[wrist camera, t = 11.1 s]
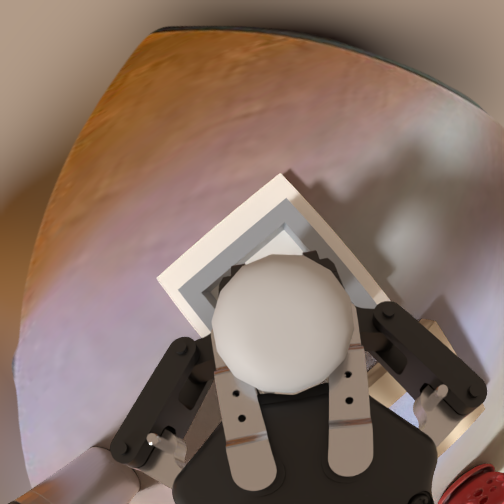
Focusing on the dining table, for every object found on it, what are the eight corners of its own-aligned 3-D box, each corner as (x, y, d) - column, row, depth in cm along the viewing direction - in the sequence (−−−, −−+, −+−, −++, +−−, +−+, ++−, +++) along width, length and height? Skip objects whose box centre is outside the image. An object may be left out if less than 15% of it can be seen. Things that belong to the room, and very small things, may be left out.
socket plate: (273, 412, 25) (271, 431, 21) (161, 278, 27) (142, 276, 23) (394, 311, 25) (412, 314, 21) (280, 177, 28) (280, 159, 23)
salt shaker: (280, 246, 20) (276, 178, 8) (338, 297, 19) (424, 311, 7) (227, 305, 20) (141, 330, 7) (285, 356, 19) (286, 456, 6)
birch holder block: (377, 485, 22) (383, 498, 19) (306, 419, 24) (308, 433, 21) (472, 401, 22) (485, 408, 19) (421, 318, 24) (435, 321, 21)
